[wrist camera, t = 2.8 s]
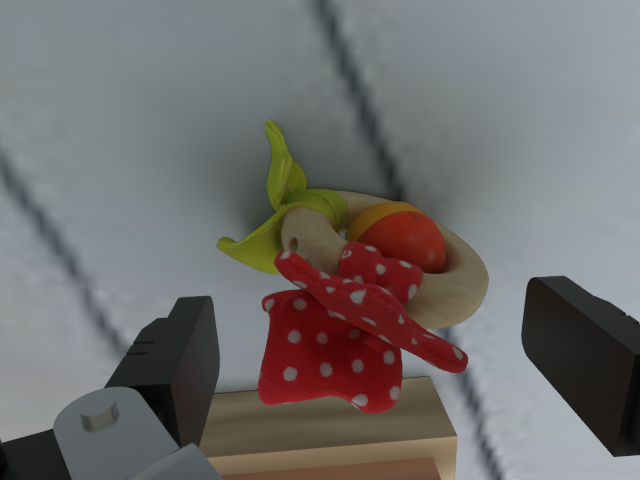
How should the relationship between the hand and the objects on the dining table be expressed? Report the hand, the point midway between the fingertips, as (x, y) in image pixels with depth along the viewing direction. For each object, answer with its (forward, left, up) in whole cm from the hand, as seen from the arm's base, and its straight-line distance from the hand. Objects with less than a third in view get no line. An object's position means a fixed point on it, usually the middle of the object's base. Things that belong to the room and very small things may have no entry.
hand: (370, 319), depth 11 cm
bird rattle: (-1, 0, -9) cm, 9 cm away
